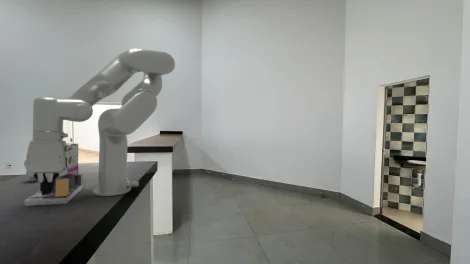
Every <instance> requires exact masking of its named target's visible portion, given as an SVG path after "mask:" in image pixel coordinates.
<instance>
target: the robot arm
mask: <svg viewBox="0 0 470 264" xmlns="http://www.w3.org/2000/svg"><path fill="white" fill-rule="evenodd" d="M175 66H176V62H175V59H174V58H173V56H172V55H171V54H170V53H168V52H165V51H160V50H153V49H152V50H150V49H145V48H130V49H128V50H125V51H122V52H121V53H120V54H117V56H115V58H113V59H112V60H111V61H110V62H109V63H108V64H107V65H105V66H104V67H103V68H102V69H101V70H100V71H98V72H97V73H96V74H95V75H94V76H93V77H91V78H90V79H89V80H88V81H87V82H85V83H84V84H83V85H81V87H79V88H78V89H77V90H75V92H73V93H72V94H71V95H70V96H68V97H67V99H60V98H57V97H46V96H45V97H44V96H38V97H35V98H34V100H33V105H32V106H33V107H32V109H33V110H32V111H33V112H32V140H30V141H29V144H28V147H27V152H26V158H25V160H26V167H25V171H26V173H25V176H26V177H29V176H31V177H35V178H36V179H37V180H36V181H38V183H40V186H39V188H40V189H39V191H40V192H42V195H45V194H46V195H49V194H50V193H51V192H52V191H53V187H54V180H55V179H56V178H57V177H58V176H63V175H66V174H67V173H68V172H67V168H68V151H67V141H66V140H64V139H65V138H68V137H69V134H68V133H65V132H64V121H68V122H74V123H82V122H86V121H88V120H89V119H90V118H91V117H92V116H93V114H94V109H93V106H95V105H96V104H97V103H99V101H101V100H103V99H105V98H107V97H109V96H111V95H113V94H114V93H116V92H117V91H118V90H119V89H120V88H121V87H122V86H123V85H124V84H126V83H127V82H128V80H130V79H131V78H132V77H133V76H134V75H135V74H137V73H140V72H142V73H143V78H142V80H141V81H140V82H139V83H138V84H137V85H136V86H135V87H133V88H132V89H131V90H130V91H128V92H127V93H126V94H124V96H123V98H122V99H121V106H120V107H119V108H109V109H106V110H105V111H103V112H102V113H101V114H99V117H98V121H97V127H98V137H99V140H98V141H99V146H98V147H99V148H98V149H99V151H98V185H97V187H95V188H94V189H93V190H92V192H93V194H94V195H95V196H100V197H112V196H120V195H125V194H127V193H129V192H130V191H131V187H134V188H135V187H139V184H140V182H139V181H138V180H137V181H136V180H129V177H127V172H128V168H127V166H128V148H129V147H128V135H130V134H133V133H134V132H136V131H137V130H138V129H140V127H141V126H142V125H143V124H144V123H145V122H146V121H147V120H148V119H149V118H150V117H151V116H152V115H153V114H154V112H155V111H156V109H157V107H158V98H157V96H158V95H159V94H160V93H161V92H162V88H163V79H162V76H164V75H165V76H166V75H168V74H170V73H172V72H173V71H174V70H175V68H176V67H175ZM47 173H48V175H49V176H48V175H47ZM46 176H48V180H47V177H46Z"/></svg>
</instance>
